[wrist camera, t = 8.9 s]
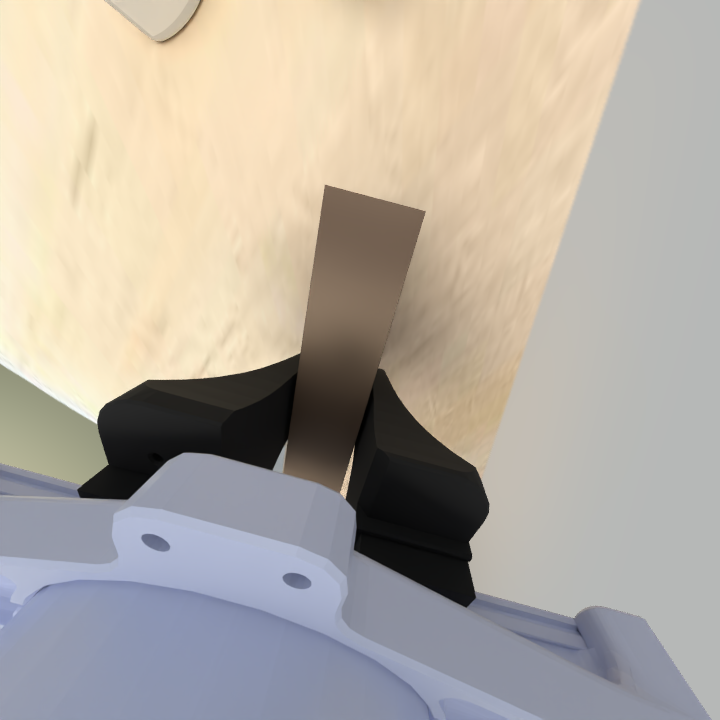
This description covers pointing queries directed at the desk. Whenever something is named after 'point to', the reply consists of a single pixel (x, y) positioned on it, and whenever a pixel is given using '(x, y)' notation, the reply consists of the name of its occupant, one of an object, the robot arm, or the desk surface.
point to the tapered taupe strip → (346, 327)
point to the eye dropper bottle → (156, 15)
